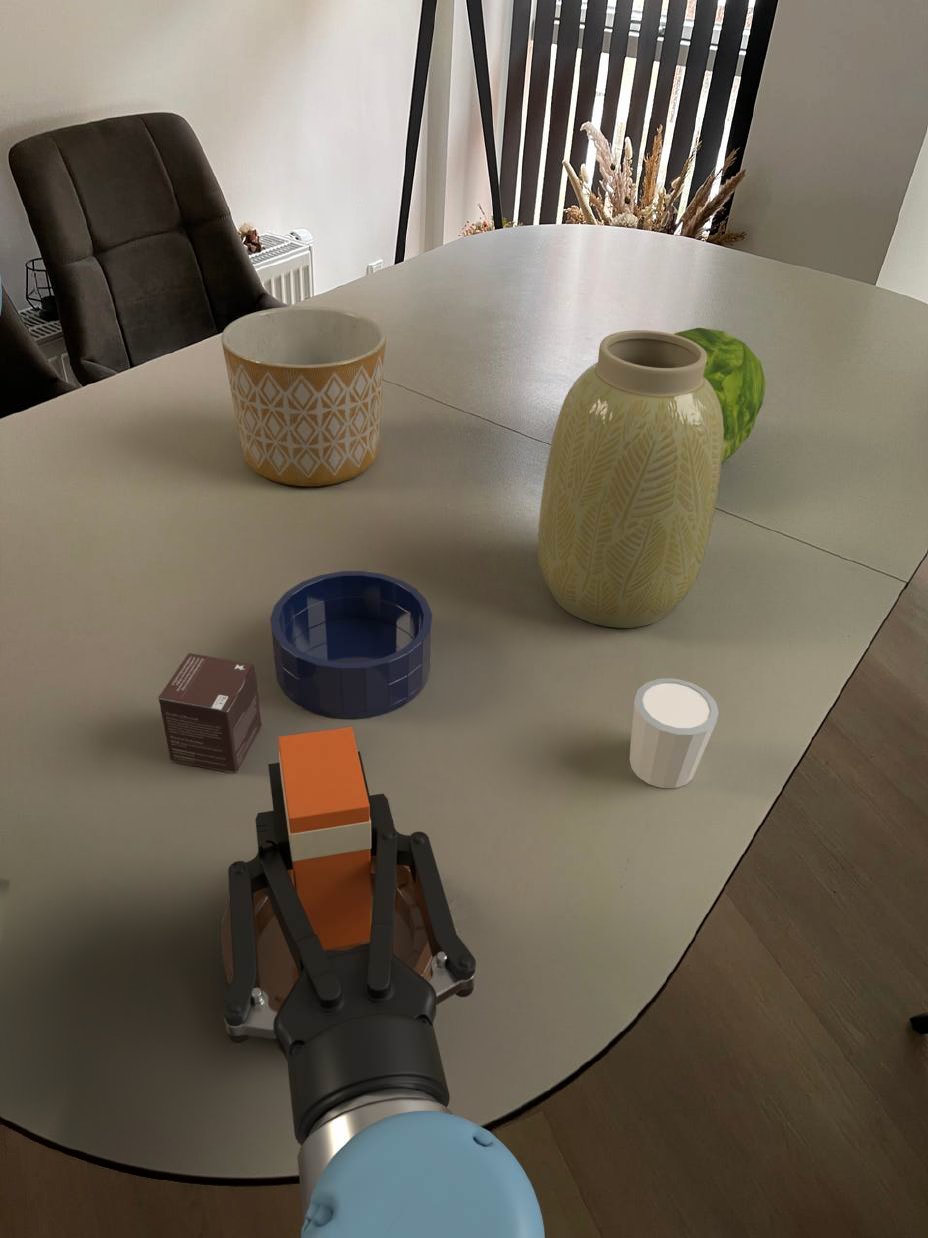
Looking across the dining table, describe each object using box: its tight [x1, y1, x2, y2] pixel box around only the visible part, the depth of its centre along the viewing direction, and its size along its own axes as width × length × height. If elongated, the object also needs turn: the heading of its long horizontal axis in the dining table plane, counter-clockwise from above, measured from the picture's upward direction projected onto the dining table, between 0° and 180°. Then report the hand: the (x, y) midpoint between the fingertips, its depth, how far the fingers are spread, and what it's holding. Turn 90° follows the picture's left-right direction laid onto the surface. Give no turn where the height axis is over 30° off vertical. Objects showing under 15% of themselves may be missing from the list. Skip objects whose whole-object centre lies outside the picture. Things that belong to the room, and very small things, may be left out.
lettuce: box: [673, 327, 767, 466], centre depth 120 cm, size 17×23×16 cm
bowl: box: [220, 856, 433, 1012], centre depth 65 cm, size 15×15×4 cm
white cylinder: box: [629, 677, 720, 789], centre depth 80 cm, size 7×7×7 cm
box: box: [157, 652, 263, 774], centre depth 79 cm, size 6×6×7 cm
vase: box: [537, 329, 724, 629], centre depth 94 cm, size 17×17×27 cm
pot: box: [269, 570, 433, 720], centre depth 89 cm, size 15×15×6 cm
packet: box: [277, 726, 371, 949], centre depth 59 cm, size 5×7×13 cm
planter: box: [220, 305, 387, 487], centre depth 118 cm, size 19×19×16 cm
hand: (315, 772), depth 63 cm, fingers closed on packet, 4 cm apart
